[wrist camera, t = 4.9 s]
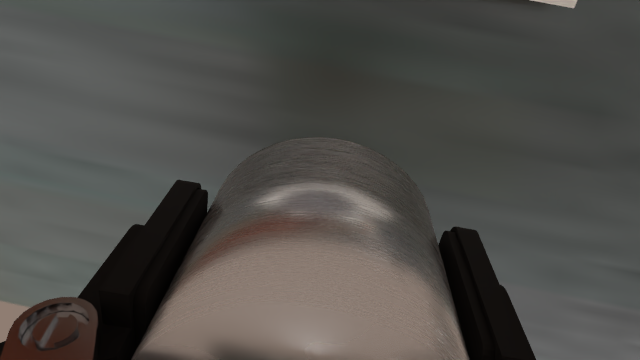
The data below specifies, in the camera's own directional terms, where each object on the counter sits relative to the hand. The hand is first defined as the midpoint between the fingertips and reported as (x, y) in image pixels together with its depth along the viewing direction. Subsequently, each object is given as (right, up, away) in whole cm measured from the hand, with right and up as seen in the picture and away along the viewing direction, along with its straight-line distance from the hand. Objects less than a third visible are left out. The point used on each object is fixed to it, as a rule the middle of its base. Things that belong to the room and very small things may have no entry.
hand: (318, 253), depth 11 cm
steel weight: (0, 0, +1) cm, 1 cm away
